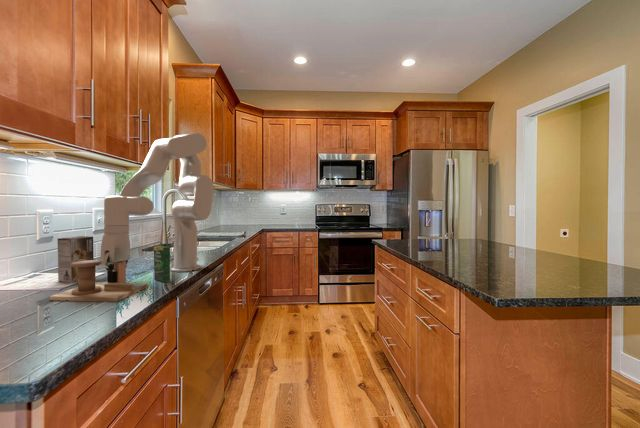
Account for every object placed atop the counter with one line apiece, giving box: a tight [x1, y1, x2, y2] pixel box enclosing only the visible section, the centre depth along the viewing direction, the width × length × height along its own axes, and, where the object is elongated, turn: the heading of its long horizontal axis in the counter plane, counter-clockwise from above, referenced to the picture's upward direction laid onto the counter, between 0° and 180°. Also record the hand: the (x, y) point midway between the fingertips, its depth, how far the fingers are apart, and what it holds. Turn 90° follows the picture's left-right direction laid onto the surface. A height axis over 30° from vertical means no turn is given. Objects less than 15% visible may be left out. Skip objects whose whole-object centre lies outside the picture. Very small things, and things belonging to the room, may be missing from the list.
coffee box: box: [57, 235, 95, 283], centre depth 119 cm, size 9×6×16 cm
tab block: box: [106, 261, 127, 283], centre depth 113 cm, size 4×4×8 cm
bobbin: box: [71, 259, 102, 295], centre depth 99 cm, size 8×8×9 cm
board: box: [49, 281, 149, 303], centre depth 102 cm, size 17×20×3 cm
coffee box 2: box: [153, 245, 171, 283], centre depth 120 cm, size 8×3×13 cm, turn 51°
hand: (116, 280), depth 113 cm, fingers closed on tab block, 4 cm apart
